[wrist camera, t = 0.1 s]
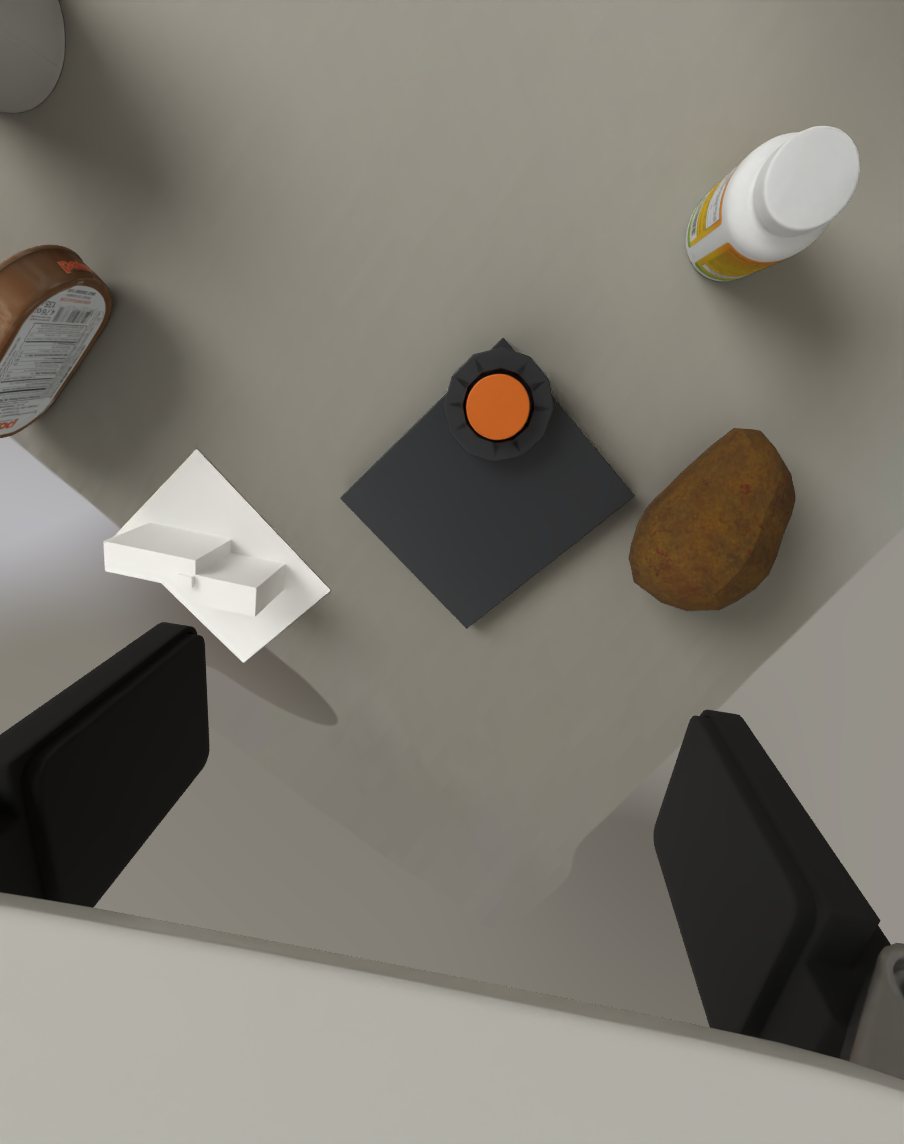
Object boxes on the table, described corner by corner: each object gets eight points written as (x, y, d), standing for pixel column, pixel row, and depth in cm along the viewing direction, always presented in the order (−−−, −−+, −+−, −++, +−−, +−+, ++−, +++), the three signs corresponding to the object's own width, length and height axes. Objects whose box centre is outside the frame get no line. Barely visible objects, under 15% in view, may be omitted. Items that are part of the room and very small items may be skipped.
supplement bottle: (788, 252, 33) (894, 204, 24) (702, 299, 34) (771, 272, 25) (759, 161, 32) (860, 74, 23) (670, 214, 33) (731, 153, 24)
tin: (104, 255, 37) (-5, 223, 29) (141, 291, 38) (44, 269, 30) (5, 413, 42) (-113, 421, 34) (38, 443, 42) (-70, 458, 34)
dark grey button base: (504, 328, 36) (503, 324, 33) (635, 487, 39) (645, 496, 36) (340, 490, 41) (328, 498, 38) (467, 621, 44) (464, 638, 41)
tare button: (501, 359, 34) (500, 359, 33) (541, 408, 35) (543, 409, 34) (455, 404, 36) (453, 405, 34) (495, 450, 36) (495, 453, 35)
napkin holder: (112, 538, 44) (57, 560, 39) (195, 447, 41) (148, 457, 36) (244, 664, 47) (210, 700, 42) (332, 588, 44) (307, 618, 39)
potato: (805, 494, 38) (886, 526, 30) (674, 609, 42) (714, 666, 33) (722, 413, 37) (783, 424, 28) (595, 539, 40) (617, 581, 32)
